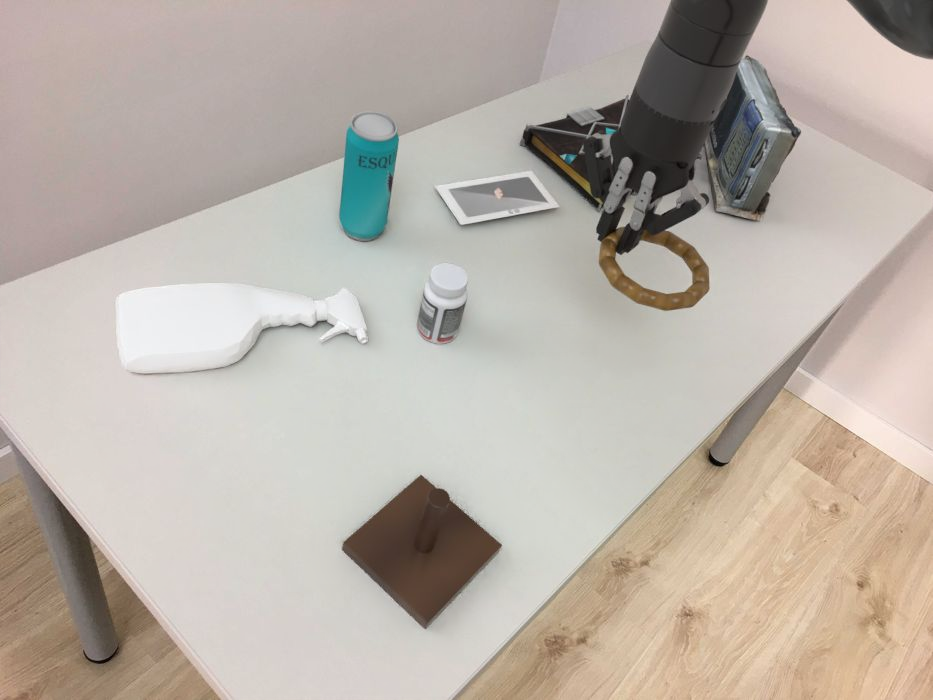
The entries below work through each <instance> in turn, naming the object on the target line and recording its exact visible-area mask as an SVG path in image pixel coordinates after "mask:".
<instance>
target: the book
mask: <svg viewBox="0 0 933 700" xmlns="http://www.w3.org/2000/svg"><path fill="white" fill-rule="evenodd" d="M629 100H630V96H629V94H626V95H625V98H622V99H619V100H617V101H615V102H612V103H610V104H608V105H606V106H602V107H601V108H597V109H594V108H593V107H592V106H591V105H589V106H586V107H583V108H579V109H575V110H572V111H569V112H567V114H566V117H564V118H560V119H556V120H554V121H549V122H543V123H540V124H536V125H533V124H528V123H526V125H525V128H524V130H523V133H522V136H521V137H522V138H521V139H520V142H519V146H523V147H527V148H528V149H529V150H531V151H532V153H534V154H535V155H537V156H538V157H539V158H541V159H542V160H543V161H544V162H546V163H547V164H548V165H549V166H550V167H552V168H553V169H554V170H555V172H557V173H558V174H559V175H561V176H562V178H564V179H565V180H566V181H567V182H569V183H570V185H572V186H573V187H574V188H575V189H576V190H577V191H579V192H580V193H581V194H582V196H584V197H585V198H586V199H587V200H588V201H589V202H590V203H591V204H592V205H593V206H594V207H595V208H596V211H597V212H600V211H601V209H602V208H604V207H603V203H602V201H601V200H600V199H599V198H594V197H593V196H592V194H591V190H590V183H589V177H588V171H587V165H586V158H585V152H584V146H583V143H584V140H586V139H587V138H589V137H590V136H592V135H594V134H595V133H597V132H599V131H601V130H602V131H605V132H606V133H607V134H613V133H614V132H615V131H616V130H618V129H619V127H620V125H621V121H622V118H623V115H624V113H625V110H626V108H627V105H628V102H629ZM610 156H611V163H612V170H613V177H615V175H616V170H615V166H614V161H613V157H612V153H611V154H610ZM703 158H704V154H701V153H699V155H698V157H697V159H696V161H697V160H699V161H702V160H703ZM695 170H696V168H695V167H694V171H695ZM630 195H632V196H637V195H638V194H637V193H636V192H635V191H634V190H632V191H631V193H630Z"/></svg>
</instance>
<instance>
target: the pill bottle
mask: <svg viewBox="0 0 933 700" xmlns="http://www.w3.org/2000/svg"><path fill="white" fill-rule="evenodd" d="M468 283H469V276H468V274H467V272H466V271H465V270H464V269H463V268H462V267H461V266H459V265H457V264H454V263H452V262H451V263H450V262H442V263H438V264H436V265H435V266H434V267H432V268H431V270H430V273H429V277H428V280H427V281H426V283H425V285H424V287H423V292H422V295H421V296H422V297H421V301H420V306H419V311H418V315H417V321H416V329H417V331H418V334H419V335H420V337H422V338H423V339H424V340H426V341H428V342H430V343H432V344H438V345H440V344H442V345H443V344H447V343H450V342H452V341H453V340H455V338H457V336H458V334H459V331H460V328H461V324H462V320H463V316H464V311H465V307H466V304H467V300H468V293H469V292H468V289H467V287H468Z"/></svg>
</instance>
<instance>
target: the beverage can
mask: <svg viewBox="0 0 933 700" xmlns="http://www.w3.org/2000/svg"><path fill="white" fill-rule="evenodd" d="M349 121H350V122H349V123H350V124H349V126H348V128H347V130H346V135H345V148H344V159H343V169H342V179H341V181H342V182H341V190H340V191H341V192H340V202H339V203H340V204H339V216H338V217H339V221H340V225H341V226H342V227H341V228H342V229H343V232H344V233H345V235H347V236H348V237H349V238H351V239H352V240H354V241H357V242H358V241H359V242H371V241H374V240H375V239H377V238H378V237H379V236H380V235H381V234H382V232H383V231H384V229H385V228H386V227H387V224H388V218H389V211H390V204H391V197H392V190H393V183H394V176H395V170H396V164H397V163H396V162H397V157H398V150H399V144H400V137H399V134H398V131H399V125H398V123H397V121H396V120H395V119H394V118H393V117H391V116H390V115H388V114H386V113H383V112H380V111H375V110H364V111H360V112H357V113H355V114H353V116H352V117H351V119H350V120H349Z"/></svg>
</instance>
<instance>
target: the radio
mask: <svg viewBox="0 0 933 700" xmlns="http://www.w3.org/2000/svg"><path fill="white" fill-rule="evenodd" d="M777 93H778V92H777V90H776V88H775V87H774V86H773V84H772V81H771V79H770V78H769V75H768V71H767V70H766V68H765V67H764V65H763V64H762V63H761V62H760V61H759V60H758V59H755V58H753V57H751V56H750V55H748V54H746V56H744V57H742V59H741V61H740V64H739V66H738V69H737V72H736V75H735V78H734V81H733V84H732V87H731V89H730V91H729V93H728V95H727V100H726V102H725V104H724V106H723V108H722V110H720V112H719V114H718V116H717V118H716V120H715V122H714V124H713V126H712V128H711V130H710V133H709V135H708V137H707V139H706V141H705V143H704V145H703V147H704V151H705V157H706V162H707V168H708V174H709V181H710V185H711V191H712V197H713V203H714V208H715V212H718V213H724V214H728V215H732V216H736V217H740V218H745V219H748V220H754V221H761V220H762V216H763V215H765V213H766V211H767V210H768V205H769V203H770V199H771V194H770V193H769V190H770V188H771V187H772V184H773V182H774V181H775V180H776V177H777V176H778V175H779V173H780V171H781V169H782V165H783V164H784V162H785V160H786V159H787V158H788V156H789V155H790V154H791V152H792V151H793V149H794V147H795V146H796V143H797V141H798V139H799V137H800V136H801V134H802V130H801V129H800V128H799V127H797V126H795V124H794V122H793V120H792V119H791V118H790V116H789V115H788V114H787V110H786V108H785V107H783V105H782V104H781V100H780V98H779V96H778V94H777Z"/></svg>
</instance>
